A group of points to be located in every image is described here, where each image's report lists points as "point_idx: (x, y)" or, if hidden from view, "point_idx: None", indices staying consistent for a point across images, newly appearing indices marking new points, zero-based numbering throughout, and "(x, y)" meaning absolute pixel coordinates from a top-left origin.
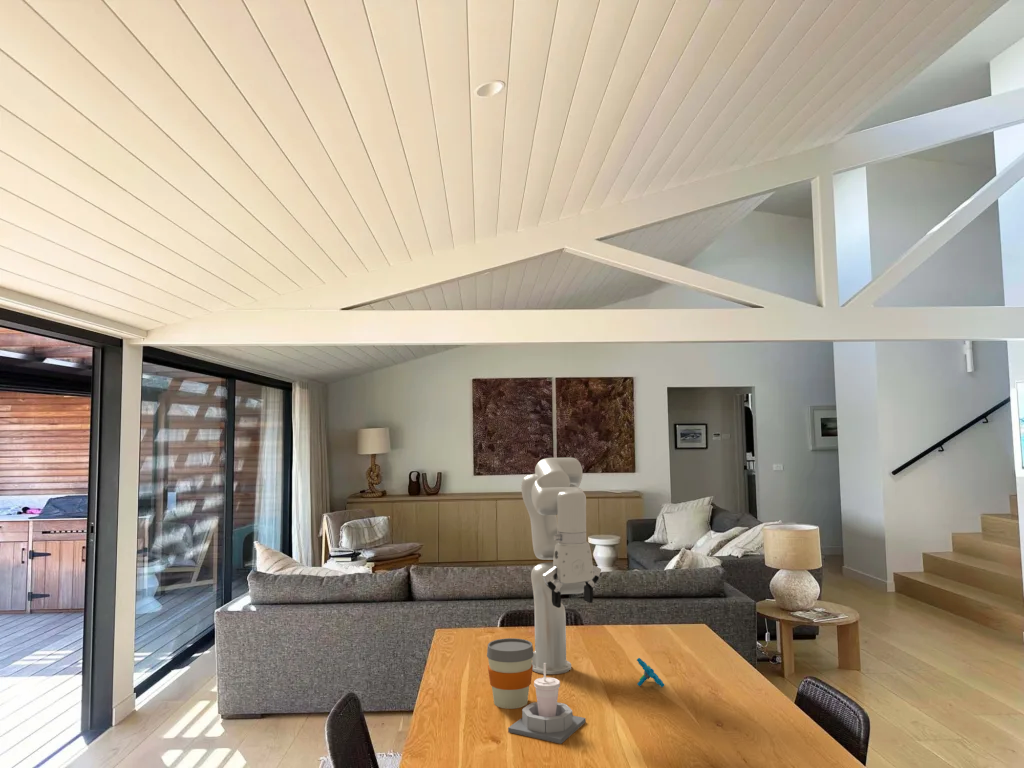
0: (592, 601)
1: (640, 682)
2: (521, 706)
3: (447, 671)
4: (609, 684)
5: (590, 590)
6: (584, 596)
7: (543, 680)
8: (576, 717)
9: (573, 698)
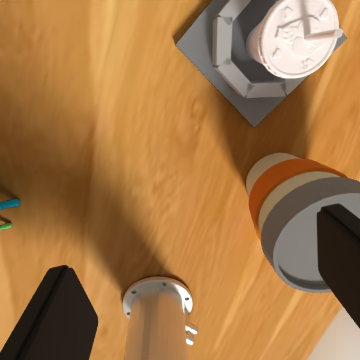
0: (48, 270)
1: (11, 201)
2: (267, 155)
3: (315, 314)
4: (74, 220)
5: (22, 354)
6: (90, 340)
7: (309, 43)
8: (193, 54)
9: (160, 172)
